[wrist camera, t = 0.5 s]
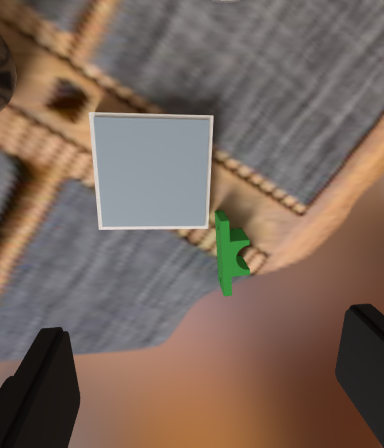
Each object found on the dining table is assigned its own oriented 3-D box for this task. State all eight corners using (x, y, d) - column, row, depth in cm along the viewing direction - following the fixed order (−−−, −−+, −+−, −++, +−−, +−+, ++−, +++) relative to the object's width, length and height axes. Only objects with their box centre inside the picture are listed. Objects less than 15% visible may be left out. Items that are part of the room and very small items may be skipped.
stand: (94, 112, 36) (88, 112, 33) (209, 115, 37) (213, 115, 34) (103, 221, 41) (98, 230, 38) (205, 221, 42) (208, 229, 39)
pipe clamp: (242, 276, 46) (250, 293, 42) (218, 279, 46) (223, 296, 42) (240, 207, 42) (249, 218, 38) (214, 210, 42) (220, 221, 38)
